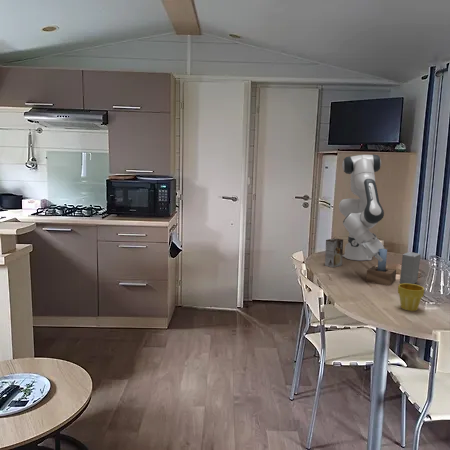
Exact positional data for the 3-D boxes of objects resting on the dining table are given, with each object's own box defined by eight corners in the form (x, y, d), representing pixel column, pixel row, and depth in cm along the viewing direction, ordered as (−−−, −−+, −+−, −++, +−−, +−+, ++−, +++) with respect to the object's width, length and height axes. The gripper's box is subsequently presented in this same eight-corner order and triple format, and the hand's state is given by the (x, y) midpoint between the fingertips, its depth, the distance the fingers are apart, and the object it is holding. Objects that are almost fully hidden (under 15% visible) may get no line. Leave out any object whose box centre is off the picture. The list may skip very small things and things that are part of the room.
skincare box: (405, 280, 232) (407, 251, 230) (419, 282, 227) (421, 253, 225) (398, 283, 226) (400, 253, 224) (412, 286, 221) (414, 255, 219)
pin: (378, 270, 232) (380, 248, 230) (386, 271, 230) (387, 249, 228) (376, 271, 229) (378, 249, 227) (384, 273, 226) (385, 250, 225)
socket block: (372, 276, 238) (373, 266, 237) (395, 280, 231) (396, 269, 230) (366, 281, 228) (366, 270, 227) (389, 285, 222) (390, 274, 221)
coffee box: (333, 263, 268) (334, 237, 266) (342, 265, 264) (343, 239, 261) (324, 265, 262) (325, 239, 260) (333, 267, 258) (334, 241, 255)
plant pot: (427, 312, 183) (429, 290, 181) (403, 312, 182) (405, 290, 180) (414, 304, 193) (416, 283, 191) (392, 304, 192) (393, 283, 191)
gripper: (364, 238, 222) (382, 260, 218) (375, 233, 238) (393, 253, 234) (355, 246, 225) (373, 267, 221) (367, 240, 242) (384, 260, 238)
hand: (383, 260), depth 228 cm, fingers closed on pin, 4 cm apart
